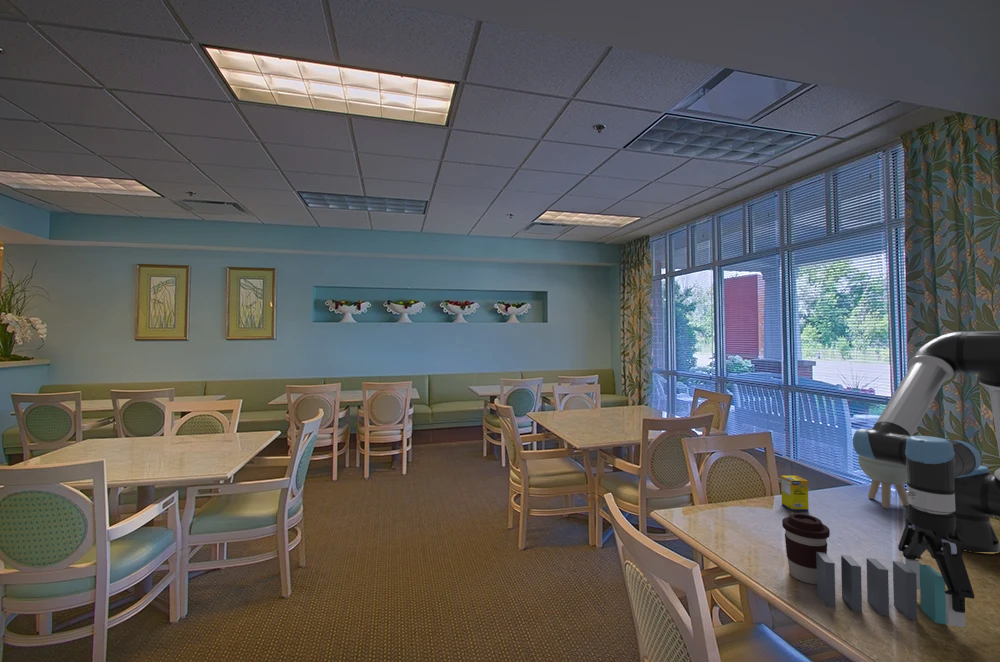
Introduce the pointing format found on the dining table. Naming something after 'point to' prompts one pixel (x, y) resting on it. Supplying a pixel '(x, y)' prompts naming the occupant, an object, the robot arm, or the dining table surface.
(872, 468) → the planter
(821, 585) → the domino
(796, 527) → the coffee cup
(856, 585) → the domino
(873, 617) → the dining table surface
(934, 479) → the robot arm
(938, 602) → the domino
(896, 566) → the domino
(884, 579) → the domino
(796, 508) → the supplement box
